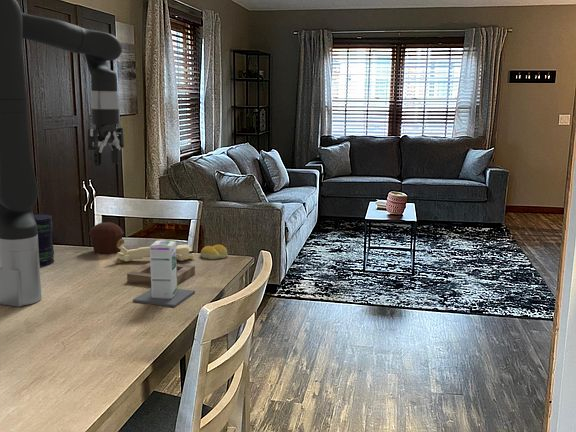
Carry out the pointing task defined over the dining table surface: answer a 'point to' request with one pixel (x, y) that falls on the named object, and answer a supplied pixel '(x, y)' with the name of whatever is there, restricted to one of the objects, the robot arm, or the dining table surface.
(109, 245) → the muffin
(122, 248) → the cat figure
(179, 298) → the charcoal mat
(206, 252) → the bread roll
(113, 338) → the dining table surface
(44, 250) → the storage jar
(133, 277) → the walnut socket
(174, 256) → the syrup box
